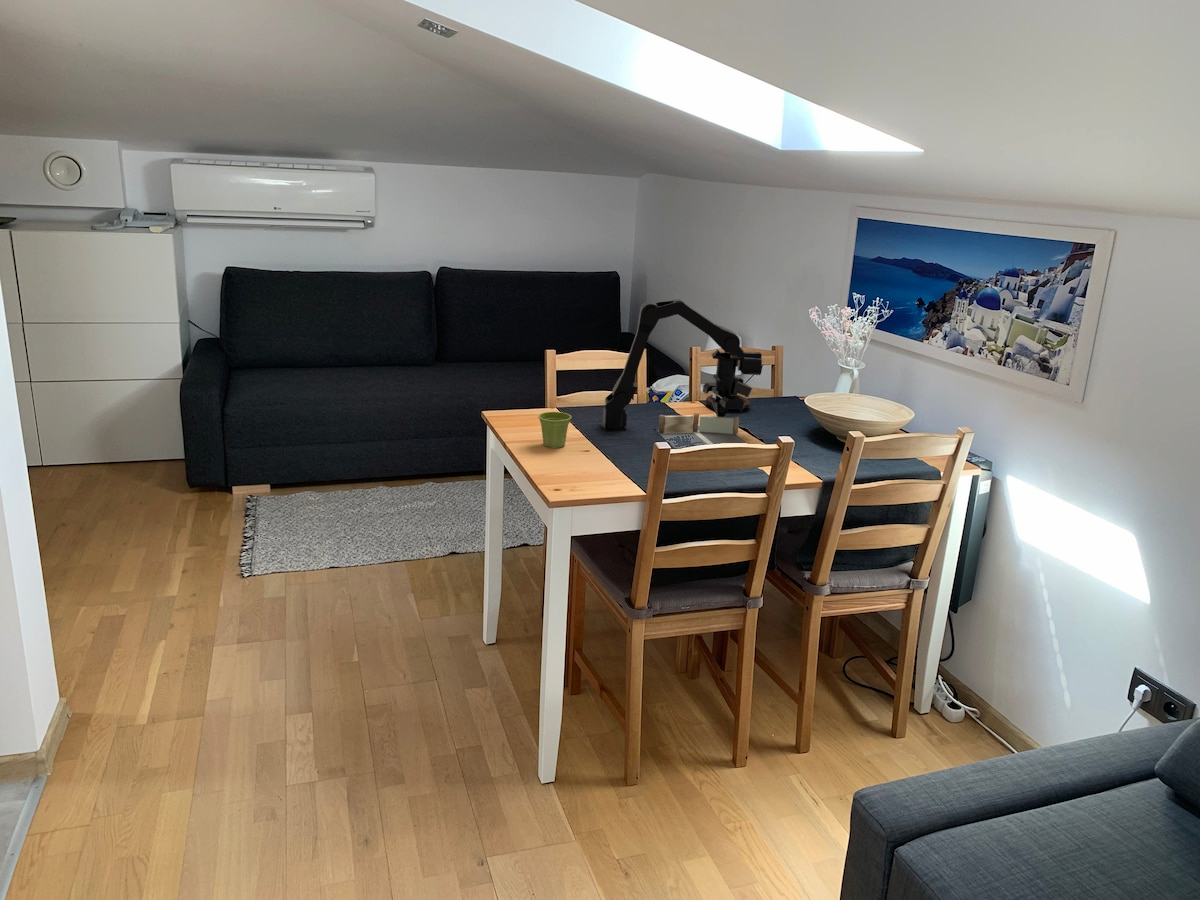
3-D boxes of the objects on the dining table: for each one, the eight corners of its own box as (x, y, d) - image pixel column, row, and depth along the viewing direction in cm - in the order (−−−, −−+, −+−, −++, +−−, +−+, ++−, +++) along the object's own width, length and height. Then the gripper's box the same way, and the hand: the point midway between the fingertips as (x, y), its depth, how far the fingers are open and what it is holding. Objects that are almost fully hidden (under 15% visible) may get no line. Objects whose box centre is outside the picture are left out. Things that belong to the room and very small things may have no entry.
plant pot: (541, 451, 259) (542, 421, 256) (534, 440, 267) (535, 412, 265) (573, 449, 262) (575, 420, 259) (565, 439, 270) (566, 411, 267)
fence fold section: (698, 431, 283) (700, 415, 281) (698, 429, 284) (700, 414, 283) (737, 434, 282) (739, 418, 280) (737, 432, 283) (739, 417, 282)
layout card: (675, 449, 267) (675, 448, 267) (652, 428, 286) (652, 427, 286) (751, 446, 273) (751, 445, 273) (724, 426, 292) (724, 425, 292)
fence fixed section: (659, 433, 280) (660, 415, 278) (657, 432, 282) (658, 414, 280) (698, 432, 283) (699, 414, 282) (696, 430, 285) (697, 413, 283)
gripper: (763, 381, 273) (757, 431, 278) (737, 364, 290) (732, 412, 295) (728, 381, 270) (723, 432, 275) (704, 365, 287) (699, 413, 292)
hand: (720, 422), depth 284 cm, fingers closed
